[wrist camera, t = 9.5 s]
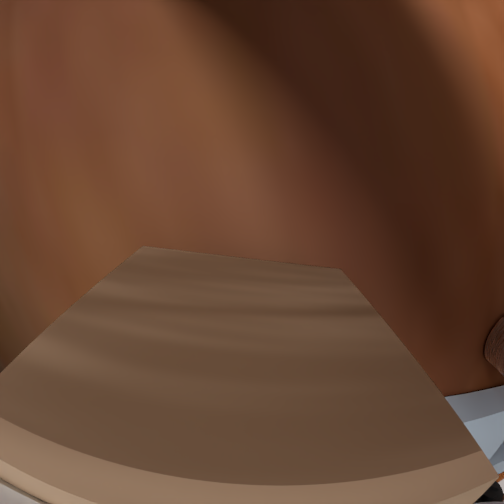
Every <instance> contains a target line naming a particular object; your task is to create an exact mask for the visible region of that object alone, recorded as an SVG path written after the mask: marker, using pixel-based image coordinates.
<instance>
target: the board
mask: <svg viewBox="0 0 504 504" xmlns="http://www.w3.org/2000/svg"><path fill="white" fill-rule="evenodd" d="M445 399H446V400H447V401H448V403H449V404H450V405H451V407H452V408H453V409H454V411H455V412H456V414H457V415H458V416H459V418H460V419H461V421H462V422H463V423H464V425H465V426H466V428H467V429H468V430H469V432H470V433H471V435H472V436H473V438H474V439H475V440H476V442H477V443H478V445H479V446H480V448H481V449H482V451H483V452H484V454H485V455H486V457H487V458H488V460H489V461H490V463H491V464H492V466H493V467H494V469H495V470H496V472H497V473H498V474H500V473H502V472H503V471H504V385H503V386H499V387H495V388H490V389H486V390H481V391H476V392H471V393H466V394H460V395H455V396H448V397H445Z"/></svg>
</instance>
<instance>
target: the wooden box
mask: <svg viewBox="0 0 504 504" xmlns="http://www.w3.org/2000/svg"><path fill="white" fill-rule="evenodd" d="M0 478H1V479H2V480H4V481H6V482H8V483H9V484H11V485H13V486H15V487H17V488H19V489H21V490H22V491H24V492H26V493H28V494H30V495H32V496H34V497H36V498H38V499H40V500H42V501H44V502H47V503H49V504H473V503H474V502H475V501H476V500H477V499H478V498H479V497H480V496H481V495H482V494H483V493H484V492H485V491H486V490H487V489H488V488H489V487H490V486H491V485H492V484H493V483H494V482H495V481H496V480H497V479H498V478H499V475H498V473H497V472H496V470H495V469H494V467H493V466H492V464H491V463H490V461H489V460H488V458H487V457H486V455H485V454H484V452H483V451H482V449H481V448H480V446H479V445H478V443H477V442H476V440H475V439H474V438H473V436H472V435H471V433H470V432H469V430H468V429H467V428H466V426H465V425H464V423H463V422H462V421H461V419H460V418H459V416H458V415H457V414H456V412H455V411H454V409H453V408H452V407H451V405H450V404H449V403H448V401H447V400H446V399H445V397H444V396H443V395H442V393H441V392H440V391H439V389H438V388H437V387H436V385H435V384H434V383H433V381H432V380H431V379H430V377H429V376H428V375H427V373H426V372H425V371H424V370H423V368H422V367H421V366H420V364H419V363H418V362H417V361H416V359H415V358H414V357H413V355H412V354H411V353H410V352H409V350H408V349H407V348H406V347H405V345H404V344H403V343H402V342H401V340H400V339H399V338H398V337H397V335H396V334H395V333H394V332H393V331H392V329H391V328H390V327H389V326H388V324H387V323H386V322H385V321H384V320H383V318H382V317H381V316H380V315H379V314H378V312H377V311H376V310H375V309H374V308H373V306H372V305H371V304H370V303H369V302H368V300H367V299H366V298H365V297H364V296H363V295H362V293H361V292H360V291H359V290H358V289H357V288H356V286H355V285H354V284H353V283H352V282H351V281H350V279H349V278H348V277H347V276H346V275H345V274H344V273H343V271H342V270H341V269H337V268H328V267H319V266H310V265H301V264H293V263H284V262H275V261H266V260H258V259H249V258H240V257H232V256H223V255H215V254H206V253H198V252H189V251H181V250H173V249H164V248H156V247H148V246H142V247H141V248H140V249H139V250H137V251H136V252H135V253H134V254H132V255H131V256H130V257H129V258H127V259H126V260H125V261H124V262H123V263H121V264H120V265H119V266H118V267H116V268H115V269H114V270H113V271H112V272H110V273H109V274H108V275H107V276H106V277H104V278H103V279H102V280H101V281H100V282H98V283H97V284H96V285H95V286H94V287H93V288H91V289H90V290H89V291H88V292H87V293H86V294H84V295H83V296H82V297H81V298H80V299H79V300H78V301H76V302H75V303H74V304H73V305H72V306H71V307H70V308H69V309H67V310H66V311H65V312H64V313H63V314H62V315H61V316H60V317H59V318H57V319H56V320H55V321H54V322H53V323H52V324H51V325H50V326H49V327H48V328H47V329H45V330H44V331H43V332H42V333H41V334H40V335H39V336H38V337H37V338H36V339H35V340H34V341H33V342H32V343H31V344H30V345H29V346H28V347H26V348H25V349H24V350H23V351H22V352H21V353H20V354H19V355H18V356H17V357H16V358H15V359H14V360H13V361H12V362H11V363H10V364H9V365H8V366H7V367H6V368H5V369H4V370H3V371H2V372H1V373H0Z"/></svg>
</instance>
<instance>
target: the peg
mask: <svg viewBox="0 0 504 504" xmlns="http://www.w3.org/2000/svg"><path fill="white" fill-rule="evenodd" d="M484 354H485V358H486V359H487V360H488V361H489V362H490V363H491V364H492V365H493V366H494V367H495V368H496V369H497V370H498V371H499V372H500V373H501V374H502V375H503V376H504V316H503V317H502V318H501V319H500V320H499V321H498V322H497V323H496V325H495V326H494V328H493V329H492V331H491V332H490V334H489V336H488V339H487V341H486V345H485V350H484Z"/></svg>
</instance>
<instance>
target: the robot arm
mask: <svg viewBox="0 0 504 504" xmlns="http://www.w3.org/2000/svg"><path fill="white" fill-rule="evenodd" d="M0 504H49V503H47V502H44V501H42V500H40V499H38V498H36V497H34V496H32V495H30V494H28V493H26V492H24V491H22V490H21V489H19V488H17V487H15V486H13V485H11V484H9V483H8V482H6V481H4V480H2V479H1V478H0ZM473 504H504V494H503V491H502V489H501V487H500V485H499V484H498V483H497V482H496V481H495V482H494V483H493V484H492V485H491V486H490V487H489V488H488V489H487V490H486V491H485V492H484V493H483V494H482V495H481V496H480V497H479V498H478V499H477V500H476V501H475V502H474V503H473Z"/></svg>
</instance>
